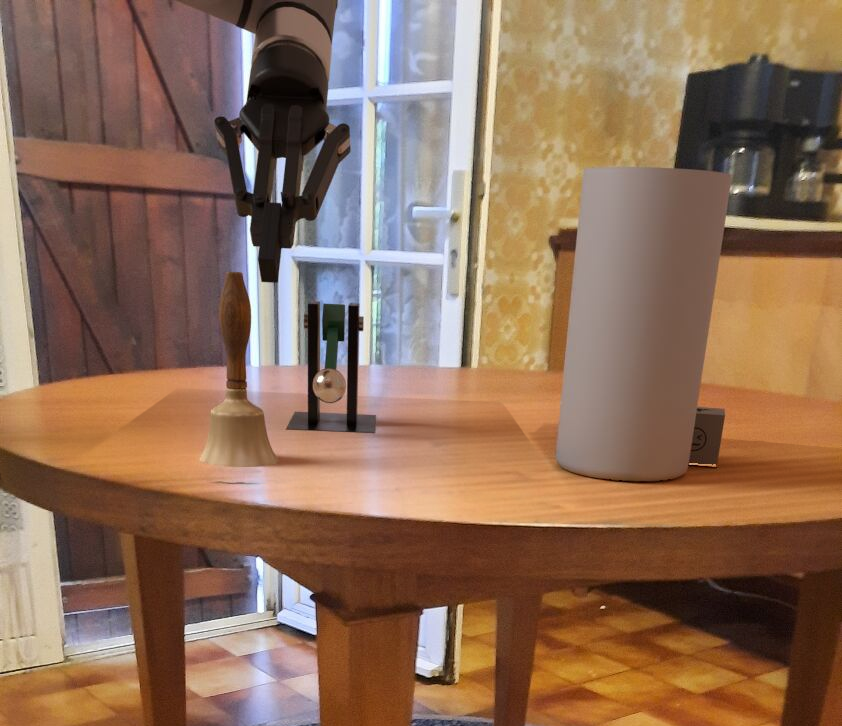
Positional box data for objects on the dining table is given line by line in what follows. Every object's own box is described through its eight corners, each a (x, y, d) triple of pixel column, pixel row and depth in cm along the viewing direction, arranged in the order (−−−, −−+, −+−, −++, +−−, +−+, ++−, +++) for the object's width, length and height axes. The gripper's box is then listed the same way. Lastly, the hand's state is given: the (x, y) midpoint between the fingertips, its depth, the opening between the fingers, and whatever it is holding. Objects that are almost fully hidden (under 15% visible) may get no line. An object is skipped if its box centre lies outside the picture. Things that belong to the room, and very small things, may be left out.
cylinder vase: (668, 460, 108) (708, 180, 97) (702, 486, 97) (751, 172, 86) (546, 455, 107) (572, 172, 96) (565, 480, 96) (597, 164, 85)
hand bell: (181, 466, 94) (171, 268, 87) (272, 463, 97) (269, 271, 90) (202, 486, 87) (193, 272, 80) (300, 482, 90) (299, 276, 83)
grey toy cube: (716, 459, 109) (724, 408, 107) (716, 468, 105) (725, 415, 103) (666, 455, 110) (674, 404, 108) (665, 463, 106) (672, 411, 104)
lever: (345, 410, 103) (345, 383, 100) (312, 409, 103) (311, 381, 100) (350, 328, 110) (350, 300, 108) (319, 327, 110) (318, 299, 107)
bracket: (374, 445, 108) (378, 308, 102) (285, 442, 107) (283, 304, 102) (375, 426, 118) (379, 302, 113) (294, 423, 118) (293, 298, 112)
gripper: (358, 115, 107) (342, 305, 99) (228, 108, 106) (201, 298, 99) (356, 44, 99) (339, 242, 92) (216, 36, 99) (187, 234, 91)
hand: (268, 270), depth 95 cm, fingers closed
